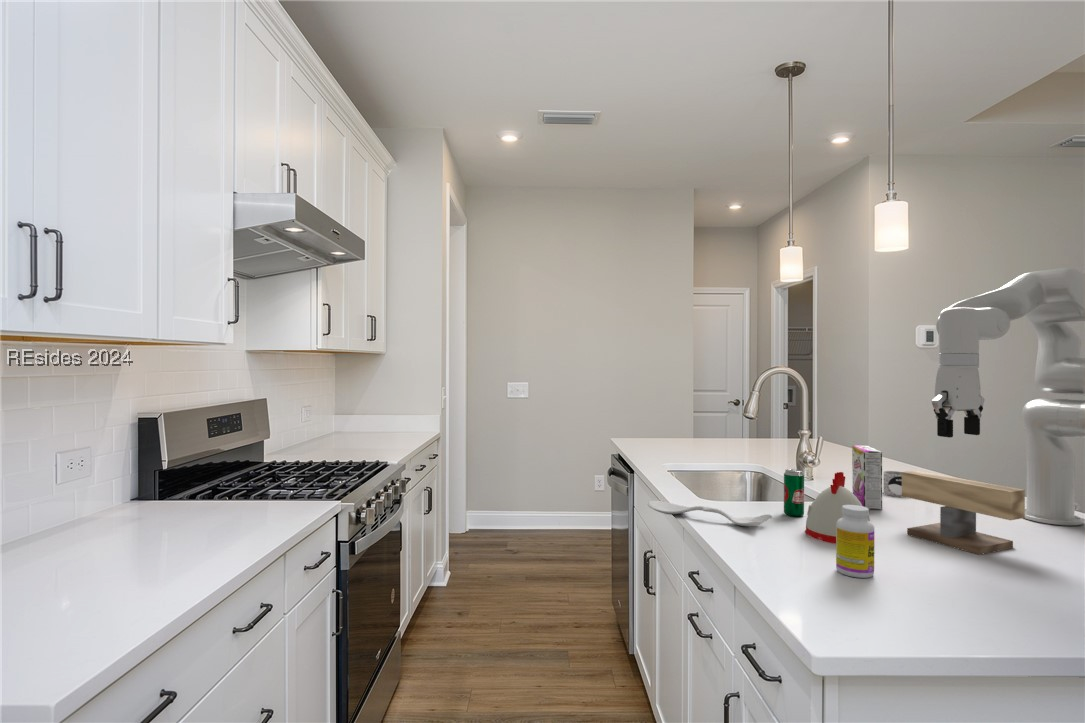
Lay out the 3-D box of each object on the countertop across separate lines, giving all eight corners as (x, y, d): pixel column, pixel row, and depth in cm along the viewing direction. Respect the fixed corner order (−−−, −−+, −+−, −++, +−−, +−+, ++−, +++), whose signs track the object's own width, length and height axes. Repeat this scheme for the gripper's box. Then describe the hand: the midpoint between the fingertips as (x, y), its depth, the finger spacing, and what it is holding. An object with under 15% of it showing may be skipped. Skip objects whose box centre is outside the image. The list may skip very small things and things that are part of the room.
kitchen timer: (878, 535, 141) (878, 472, 141) (861, 549, 131) (861, 481, 131) (817, 524, 151) (817, 465, 150) (797, 536, 140) (797, 473, 140)
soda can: (795, 518, 156) (795, 472, 156) (779, 514, 160) (779, 469, 160) (808, 516, 158) (808, 471, 158) (792, 511, 163) (792, 468, 163)
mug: (888, 496, 181) (888, 474, 181) (879, 491, 188) (879, 470, 188) (924, 497, 180) (924, 475, 180) (914, 492, 186) (914, 471, 186)
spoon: (760, 535, 142) (760, 520, 142) (641, 513, 162) (641, 500, 162) (772, 526, 149) (772, 513, 149) (657, 506, 169) (657, 494, 169)
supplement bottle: (873, 581, 112) (873, 513, 112) (834, 574, 115) (834, 508, 115) (875, 571, 117) (875, 506, 117) (838, 564, 121) (838, 501, 121)
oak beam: (915, 494, 149) (915, 470, 149) (1024, 517, 127) (1024, 489, 127) (901, 496, 147) (901, 471, 147) (1010, 520, 125) (1010, 491, 125)
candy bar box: (851, 500, 176) (851, 445, 176) (869, 500, 175) (869, 445, 175) (863, 509, 165) (863, 450, 165) (883, 510, 164) (883, 451, 164)
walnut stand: (939, 528, 146) (940, 496, 146) (1012, 547, 132) (1013, 511, 132) (907, 534, 142) (907, 501, 142) (979, 554, 127) (979, 517, 127)
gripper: (965, 361, 144) (965, 431, 144) (918, 361, 137) (918, 435, 137) (999, 361, 137) (999, 435, 137) (951, 361, 130) (951, 439, 130)
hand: (958, 435), depth 137 cm, fingers open, 9 cm apart
